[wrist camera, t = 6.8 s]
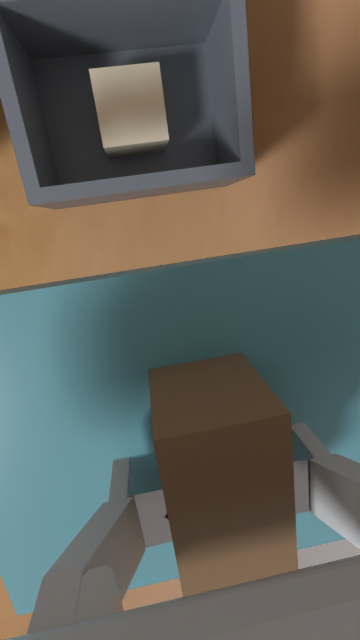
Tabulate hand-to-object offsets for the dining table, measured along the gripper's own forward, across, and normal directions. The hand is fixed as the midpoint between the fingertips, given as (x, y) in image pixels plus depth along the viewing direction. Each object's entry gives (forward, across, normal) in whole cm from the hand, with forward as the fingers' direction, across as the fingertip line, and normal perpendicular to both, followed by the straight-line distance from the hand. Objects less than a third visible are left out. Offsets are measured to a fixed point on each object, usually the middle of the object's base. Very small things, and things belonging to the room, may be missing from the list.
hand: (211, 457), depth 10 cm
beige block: (+23, 0, -16) cm, 28 cm away
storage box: (+24, 0, -16) cm, 29 cm away
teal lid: (+3, 0, 0) cm, 3 cm away
